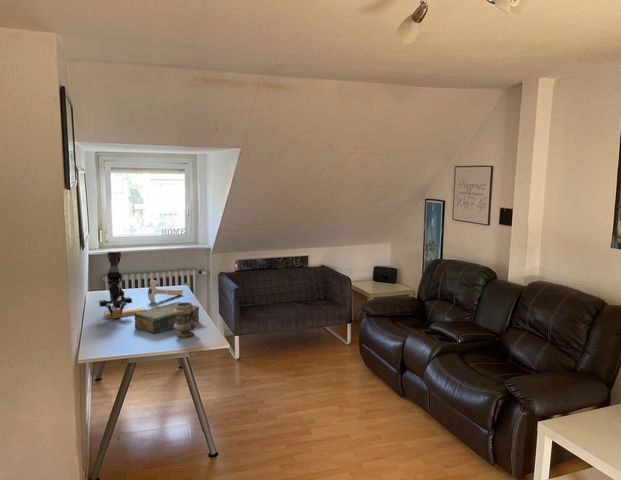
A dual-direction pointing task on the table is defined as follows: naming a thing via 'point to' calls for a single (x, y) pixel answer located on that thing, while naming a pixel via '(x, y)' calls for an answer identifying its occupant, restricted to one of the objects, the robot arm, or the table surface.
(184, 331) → the apothecary jar
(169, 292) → the hammer
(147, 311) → the metal box
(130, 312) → the board
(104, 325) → the table surface
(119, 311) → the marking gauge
